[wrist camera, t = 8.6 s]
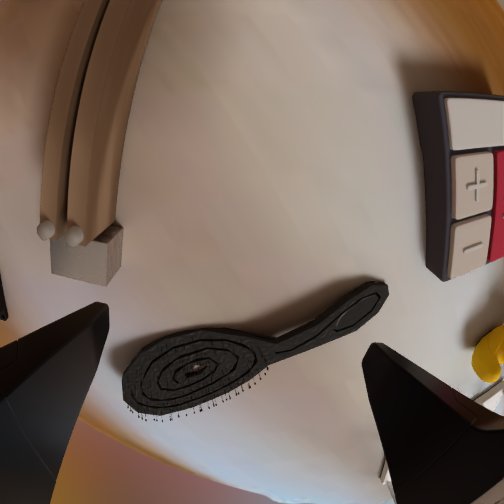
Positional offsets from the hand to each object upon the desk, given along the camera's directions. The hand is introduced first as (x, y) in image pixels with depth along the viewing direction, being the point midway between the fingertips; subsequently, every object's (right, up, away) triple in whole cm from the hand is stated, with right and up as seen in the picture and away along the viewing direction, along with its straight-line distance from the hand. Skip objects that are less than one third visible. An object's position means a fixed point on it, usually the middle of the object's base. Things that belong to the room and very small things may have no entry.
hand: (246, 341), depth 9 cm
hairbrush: (0, -5, +16) cm, 16 cm away
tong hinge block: (-11, +3, +11) cm, 16 cm away
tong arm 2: (-10, +14, +6) cm, 18 cm away
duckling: (+31, -8, +19) cm, 38 cm away
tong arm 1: (-8, +14, +7) cm, 17 cm away
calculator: (+19, +9, +12) cm, 24 cm away
